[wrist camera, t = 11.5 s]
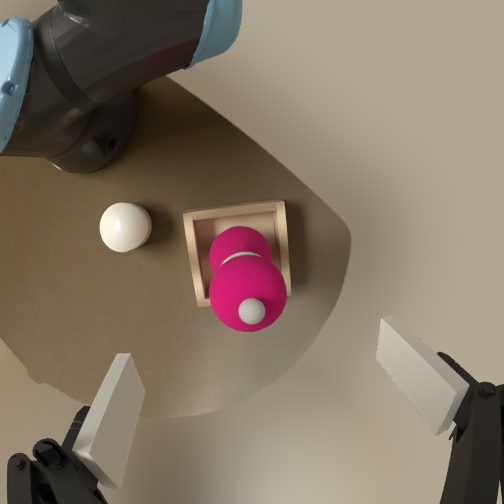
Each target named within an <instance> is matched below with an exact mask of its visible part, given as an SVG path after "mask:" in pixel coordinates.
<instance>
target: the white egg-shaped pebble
mask: <svg viewBox="0 0 504 504" xmlns="http://www.w3.org/2000/svg"><path fill="white" fill-rule="evenodd" d="M151 230H152V222H151V218H150V215H149V213H148V212H147V211H146V210H145V209H144V208H143V207H142V206H140V205H137V204H132V203H117V204H114V205H112V206H110V207H109V208H108V209H107V210H106V211H105V212H104V214H103V216H102V218H101V222H100V233H101V237H102V239H103V241H104V243H105V244H106V245H107V246H108V247H109V248H111V249H112V250H114V251H117V252H126V251H129V250H132V249H134V248H136V247H139V246H141V245H142V244H144V243H145V242H146V241H147V239H148V238H149V236H150V234H151Z"/></svg>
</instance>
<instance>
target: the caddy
mask: <svg viewBox="0 0 504 504" xmlns="http://www.w3.org/2000/svg"><path fill="white" fill-rule="evenodd" d="M183 218H184V225H185V232H186V239H187V245H188V252H189V258H190V264H191V270H192V276H193V281H194V287H195V293H196V298H197V303H198V307H206V306H211V302H210V297H209V289H210V284H211V280H212V278H213V275H214V273H213V271H212V269H211V265H210V258H209V255H210V249H211V246H212V244H213V242H214V240H215V239H216V238H217V236H218V235H219V234H221V233H222V232H223V231H225V230H226V229H228V228H230V227H234V226H244V227H249V228H252V229H254V230H256V231H258V232H259V233H261V234H262V235H263V236H264V237H265V239H266V240H267V242H268V244H269V246H270V249H271V253H272V263H273V264H274V265H275V266H276V267H277V268H278V269H279V271H280V272H281V274H282V275H283V277H284V281H285V284H286V289H287V296H290V295H291V283H290V267H289V252H288V239H287V226H286V214H285V202H284V201H282V200H279V199H274V200H265V201H255V202H246V203H237V204H229V205H220V206H213V207H205V208H197V209H190V210H186V211H185V212H184V213H183Z"/></svg>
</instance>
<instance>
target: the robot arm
mask: <svg viewBox="0 0 504 504" xmlns="http://www.w3.org/2000/svg"><path fill="white" fill-rule="evenodd" d="M57 1H58V3H59V4H57V5H56V6H54V7H53V8H51V9H50V10H49V11H47V12H46V13H44V14H43V15H41V16H40V17H38V18H37V19H36V20H34V21H33V22H30V21H29V20H28V19H26V18H18V17H14V18H11V19H6V20H4V21H2V22H1V23H0V156H20V157H41V158H46V159H47V160H48V161H50V162H51V163H52V164H53V165H54V166H55V167H57V168H59V169H60V170H63V171H66V172H70V173H89V172H93V171H96V170H99V169H101V168H103V167H104V166H106V165H107V164H109V163H110V162H111V161H113V160H114V159H115V158H116V157H117V156H118V155H119V154H120V153H121V151H122V150H123V149H124V147H125V146H126V144H127V143H128V141H129V139H130V137H131V135H132V132H133V129H134V126H135V122H136V116H137V105H136V99H135V96H134V93H133V91H132V90H133V89H135V88H137V87H139V86H142V85H144V84H146V83H148V82H150V81H153V80H155V79H157V78H160V77H162V76H165V75H167V74H170V73H172V72H175V71H177V70H180V69H188V68H190V67H192V66H193V65H194V64H195V63H198V62H200V61H203V60H206V59H209V58H211V57H214V56H217V55H219V54H222V53H224V52H225V51H227V50H228V49H229V48H230V46H231V45H232V44H233V43H234V41H235V40H236V38H237V36H238V33H239V29H240V25H241V18H242V0H57ZM376 359H377V361H378V362H379V363H380V364H381V366H382V367H383V368H384V369H385V371H386V372H387V373H388V374H389V376H390V377H391V378H392V379H393V381H394V382H395V383H396V385H397V386H398V387H399V389H400V390H401V391H402V392H403V394H404V395H405V396H406V398H407V399H408V400H409V401H410V403H411V404H412V405H413V406H414V408H415V409H416V411H417V412H418V413H419V414H420V416H421V417H422V418H423V420H424V421H425V422H426V424H427V425H428V426H429V428H430V429H431V430H432V432H433V433H434V434H435V436H437V435H439V434H440V433H442V432H444V431H446V430H448V429H449V427H450V425H451V423H452V421H454V422H455V423H456V426H455V428H454V430H453V432H452V433H451V435H450V437H449V440H451V438H452V437H453V443H452V451H451V457H450V462H449V467H448V472H447V476H446V481H445V485H444V489H443V493H442V497H441V501H440V504H496V503H497V496H498V488H499V479H500V485H501V494H502V504H504V384H502V385H499V386H495V385H494V384H492V383H490V382H481V383H478V382H477V381H476V380H475V379H474V378H473V377H472V376H471V375H470V374H469V373H468V372H466V371H465V370H464V369H463V368H462V367H460V365H459V364H458V363H455V361H454V360H453V359H452V358H451V357H450V356H449V355H447V354H444V353H442V352H438V353H435V352H434V351H433V350H432V349H431V348H429V347H428V346H427V345H426V344H425V343H424V342H423V341H421V339H420V338H418V337H417V336H416V335H415V334H414V333H413V332H412V331H411V330H409V329H408V328H407V327H406V326H405V325H404V324H403V323H402V322H400V321H399V320H398V319H397V318H396V317H395V316H393V315H390V316H386V317H383V318H381V324H380V333H379V340H378V348H377V354H376ZM145 393H146V392H145V389H144V387H143V385H142V382H141V380H140V377H139V375H138V372H137V369H136V367H135V364H134V362H133V359H132V356H131V353H117V355H116V357H115V359H114V361H113V363H112V365H111V367H110V369H109V371H108V373H107V375H106V377H105V379H104V381H103V383H102V385H101V387H100V389H99V391H98V393H97V395H96V397H95V399H94V401H93V403H92V406H84V407H83V408H82V409H81V410H80V411H78V412H77V414H76V416H75V418H74V420H73V421H74V422H73V423H72V425H71V427H70V429H69V431H68V433H67V435H66V437H65V439H64V442H63V444H62V446H61V447H60V445H59V444H58V443H57V442H56V441H55V440H53V439H49V438H46V439H42V440H40V441H38V442H37V443H36V444H35V445H34V448H33V456H34V457H35V458H36V459H37V460H38V461H31V460H30V459H29V458H28V456H27V455H25V454H23V453H17V454H14V455H13V456H11V458H10V459H9V461H8V465H7V502H8V504H108V503H107V501H106V500H105V498H104V496H103V495H102V493H101V492H100V490H99V489H98V488H97V484H98V481H99V482H100V483H101V484H102V485H103V486H104V487H107V488H113V489H119V490H120V489H121V486H122V481H123V477H124V472H125V468H126V464H127V460H128V456H129V452H130V448H131V444H132V440H133V436H134V433H135V428H136V425H137V421H138V417H139V414H140V411H141V407H142V404H143V400H144V397H145ZM453 435H454V436H453Z"/></svg>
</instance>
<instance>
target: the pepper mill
mask: <svg viewBox="0 0 504 504" xmlns="http://www.w3.org/2000/svg"><path fill="white" fill-rule="evenodd" d="M209 258H210V265H211V269H212V271H213V273H214V275H213V278H212V280H211V284H210V289H209V297H210V302H211V306H212V309H213V311H214V312H215V314H216V316H217V317H218V318H219V319H220V320H221V321H222V322H223V323H224V324H225V325H227V326H228V327H230V328H232V329H235V330H237V331H243V332H254V331H258V330H261V329H263V328H266V327H268V326H269V325H271V324H272V323H273V322H274V321H275V320H276V319H277V318H278V317H279V316H280V314H281V313H282V311H283V309H284V307H285V303H286V299H287V289H286V284H285V281H284V277H283V275H282V274H281V272H280V271H279V269H278V268H277V267H276V266H275V265H274V264H273V263H272V253H271V249H270V246H269V244H268V242H267V240H266V239H265V237H264V236H263V235H262V234H261V233H259V232H258V231H256V230H254V229H252V228H249V227H244V226H234V227H230V228H228V229H226V230H225V231H223V232H222V233H221V234H219V235H218V236H217V238H216V239H215V240H214V242H213V244H212V246H211V249H210V255H209Z"/></svg>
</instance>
